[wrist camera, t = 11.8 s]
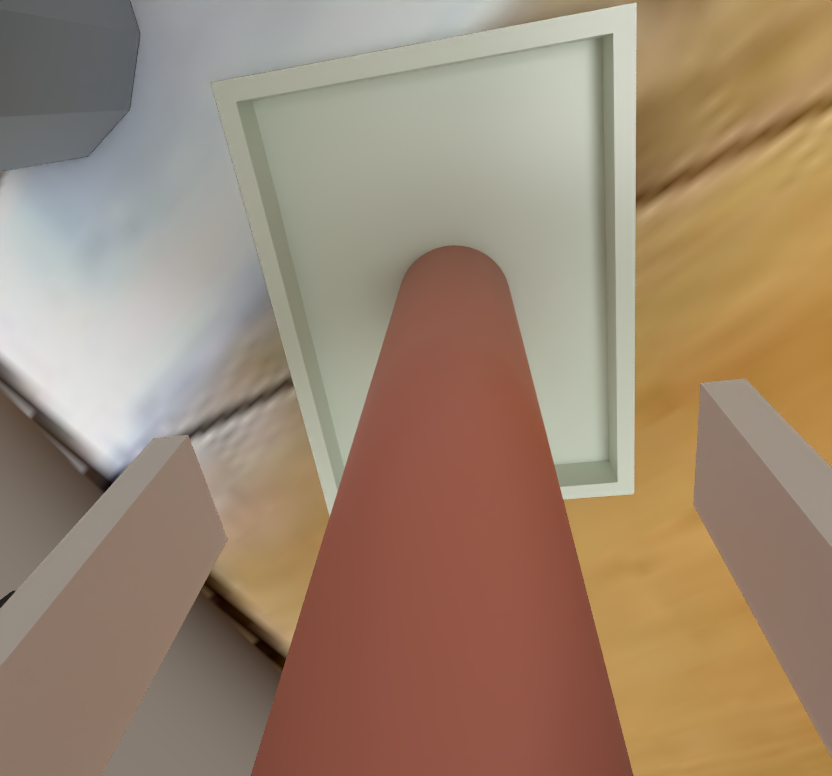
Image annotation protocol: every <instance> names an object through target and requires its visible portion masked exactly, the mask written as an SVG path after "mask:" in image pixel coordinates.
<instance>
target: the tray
mask: <svg viewBox="0 0 832 776" xmlns="http://www.w3.org/2000/svg"><path fill="white" fill-rule="evenodd" d="M636 5H637V2H636V3H631V4H626V5H621V6H615V7H610V8H605V9H599V10H594V11H589V12H583V13H578V14H573V15H567V16H562V17H557V18H551V19H546V20H541V21H535V22H530V23H525V24H520V25H514V26H509V27H504V28H498V29H493V30H488V31H482V32H477V33H472V34H466V35H461V36H456V37H450V38H445V39H440V40H434V41H429V42H424V43H419V44H413V45H408V46H403V47H397V48H392V49H387V50H381V51H376V52H371V53H365V54H360V55H355V56H349V57H344V58H339V59H333V60H328V61H323V62H318V63H312V64H307V65H302V66H296V67H291V68H286V69H280V70H275V71H270V72H264V73H259V74H254V75H248V76H243V77H238V78H232V79H227V80H222V81H217V82H211V86H212V90H213V93H214V97H215V101H216V104H217V108H218V111H219V115H220V119H221V122H222V126H223V130H224V133H225V137H226V141H227V144H228V148H229V152H230V155H231V159H232V162H233V166H234V170H235V173H236V177H237V181H238V184H239V188H240V192H241V195H242V199H243V202H244V206H245V210H246V213H247V217H248V221H249V224H250V228H251V232H252V235H253V239H254V242H255V246H256V250H257V253H258V257H259V261H260V264H261V268H262V272H263V275H264V279H265V282H266V286H267V290H268V293H269V297H270V301H271V304H272V308H273V312H274V315H275V319H276V323H277V326H278V330H279V333H280V337H281V341H282V344H283V348H284V352H285V355H286V359H287V363H288V366H289V370H290V373H291V377H292V381H293V384H294V388H295V392H296V395H297V399H298V403H299V406H300V410H301V413H302V417H303V421H304V424H305V428H306V432H307V435H308V439H309V443H310V446H311V450H312V453H313V457H314V461H315V464H316V468H317V472H318V475H319V479H320V483H321V486H322V490H323V493H324V497H325V501H326V504H327V508H328V512H329V515H331V511H332V508H333V505H334V501H335V498H336V495H337V492H338V488H339V485H340V482H341V479H342V475H343V472H344V469H345V465H346V462H347V459H348V456H349V452H350V449H351V446H352V443H353V439H354V436H355V433H356V429H357V426H358V423H359V420H360V416H361V413H362V410H363V407H364V403H365V400H366V397H367V393H368V390H369V387H370V384H371V380H372V377H373V374H374V371H375V367H376V364H377V361H378V358H379V354H380V351H381V348H382V344H383V341H384V338H385V335H386V331H387V328H388V325H389V322H390V318H391V315H392V312H393V308H394V305H395V302H396V299H397V295H398V292H399V289H400V286H401V282H402V280H403V278H404V275H405V274H406V272H407V270H408V269H409V267H410V266H411V265H412V264H413V263H414V262H415V261H416V260H417V259H418V258H419V257H421V256H422V255H424V254H425V253H427V252H429V251H431V250H434V249H436V248H439V247H444V246H453V245H456V246H465V247H470V248H473V249H476V250H478V251H480V252H482V253H484V254H486V255H487V256H489V257H490V258H491V259H492V260H493V261H495V262H496V264H497V265H498V266H499V267H500V268H501V270H502V271H503V273H504V275H505V277H506V279H507V282H508V285H509V289H510V293H511V297H512V301H513V305H514V308H515V312H516V316H517V320H518V324H519V328H520V332H521V336H522V340H523V344H524V348H525V352H526V356H527V360H528V364H529V367H530V371H531V375H532V379H533V383H534V387H535V391H536V395H537V399H538V403H539V407H540V411H541V415H542V419H543V423H544V426H545V430H546V434H547V438H548V442H549V446H550V450H551V454H552V458H553V462H554V466H555V470H556V474H557V478H558V482H559V485H560V489H561V493H562V497H563V499H575V498H588V497H601V496H614V495H626V494H634V405H635V205H636Z"/></svg>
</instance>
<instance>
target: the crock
mask: <svg viewBox="0 0 832 776" xmlns="http://www.w3.org/2000/svg"><path fill="white" fill-rule="evenodd" d="M139 37H140V32H139V29H138V26H137V23H136V19H135V16H134V13H133V10H132V6H131V3H130V0H0V172H1V171H7V170H13V169H19V168H24V167H30V166H35V165H41V164H47V163H53V162H58V161H64V160H70V159H76V158H81V157H87V156H89V155H90V154H91V153H92V151H93V150H94V149H95V148H96V147H97V146H98V145H99V144H100V142H101V141H102V140H103V139H104V138H105V137H106V136H107V135H108V133H109V132H110V131H111V130H112V129H113V128H114V127H115V125H116V124H117V123H118V122H119V121H120V120H121V119H122V118H123V116H124V115H125V114H126V113H127V112H128V111H129V109H130V102H131V95H132V88H133V81H134V73H135V66H136V59H137V52H138V45H139Z"/></svg>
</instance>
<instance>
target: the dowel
mask: <svg viewBox="0 0 832 776" xmlns="http://www.w3.org/2000/svg"><path fill="white" fill-rule="evenodd" d="M251 776H633V773H632V769H631V765H630V761H629V757H628V753H627V749H626V745H625V741H624V737H623V733H622V729H621V725H620V722H619V718H618V714H617V710H616V706H615V702H614V698H613V694H612V690H611V686H610V682H609V678H608V674H607V670H606V666H605V662H604V659H603V655H602V651H601V647H600V643H599V639H598V635H597V631H596V627H595V623H594V619H593V615H592V611H591V607H590V603H589V600H588V596H587V592H586V588H585V584H584V580H583V576H582V572H581V568H580V564H579V560H578V556H577V552H576V548H575V544H574V541H573V537H572V533H571V529H570V525H569V521H568V517H567V513H566V509H565V505H564V501H563V497H562V493H561V489H560V485H559V482H558V478H557V474H556V470H555V466H554V462H553V458H552V454H551V450H550V446H549V442H548V438H547V434H546V430H545V426H544V423H543V419H542V415H541V411H540V407H539V403H538V399H537V395H536V391H535V387H534V383H533V379H532V375H531V371H530V367H529V364H528V360H527V356H526V352H525V348H524V344H523V340H522V336H521V332H520V328H519V324H518V320H517V316H516V312H515V308H514V305H513V301H512V297H511V293H510V289H509V285H508V282H507V279H506V277H505V275H504V273H503V271H502V270H501V268H500V267H499V266H498V265H497V264H496V262H495V261H493V260H492V259H491V258H490V257H489V256H487V255H486V254H484V253H482V252H480V251H478V250H476V249H473V248H470V247H465V246H456V245H453V246H444V247H439V248H436V249H434V250H431V251H429V252H427V253H425V254H424V255H422V256H421V257H419V258H418V259H417V260H416V261H415V262H414V263H413V264H412V265H411V266H410V267H409V269H408V270H407V272H406V274H405V275H404V278H403V280H402V282H401V286H400V289H399V292H398V295H397V299H396V302H395V305H394V308H393V312H392V315H391V318H390V322H389V325H388V328H387V331H386V335H385V338H384V341H383V344H382V348H381V351H380V354H379V358H378V361H377V364H376V367H375V371H374V374H373V377H372V380H371V384H370V387H369V390H368V393H367V397H366V400H365V403H364V407H363V410H362V413H361V416H360V420H359V423H358V426H357V429H356V433H355V436H354V439H353V443H352V446H351V449H350V452H349V456H348V459H347V462H346V465H345V469H344V472H343V475H342V479H341V482H340V485H339V488H338V492H337V495H336V498H335V501H334V505H333V508H332V511H331V515H330V518H329V521H328V524H327V528H326V531H325V534H324V537H323V541H322V544H321V547H320V551H319V554H318V557H317V560H316V564H315V567H314V570H313V573H312V577H311V580H310V583H309V587H308V590H307V593H306V596H305V600H304V603H303V606H302V609H301V613H300V616H299V619H298V623H297V626H296V629H295V632H294V636H293V639H292V642H291V645H290V649H289V652H288V655H287V659H286V662H285V665H284V668H283V672H282V675H281V678H280V682H279V685H278V688H277V691H276V695H275V698H274V701H273V704H272V708H271V711H270V714H269V717H268V721H267V724H266V727H265V731H264V734H263V737H262V740H261V744H260V747H259V751H258V753H257V757H256V760H255V763H254V767H253V770H252V773H251Z"/></svg>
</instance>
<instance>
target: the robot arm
mask: <svg viewBox="0 0 832 776" xmlns="http://www.w3.org/2000/svg"><path fill="white" fill-rule="evenodd" d="M693 505H694V507H695V509H696V511H697V512H698V514H699V516H700V518H701V520H702V522H703V523H704V525H705V527H706V529H707V531H708V532H709V534H710V536H711V538H712V540H713V542H714V543H715V545H716V547H717V549H718V551H719V553H720V554H721V556H722V558H723V560H724V562H725V564H726V565H727V567H728V569H729V571H730V573H731V575H732V576H733V578H734V580H735V582H736V584H737V586H738V587H739V589H740V591H741V593H742V595H743V597H744V598H745V600H746V602H747V604H748V606H749V607H750V609H751V611H752V613H753V615H754V617H755V618H756V620H757V622H758V624H759V626H760V628H761V629H762V631H763V633H764V635H765V637H766V639H767V640H768V642H769V644H770V646H771V648H772V650H773V651H774V653H775V655H776V657H777V659H778V661H779V662H780V664H781V666H782V668H783V670H784V672H785V673H786V675H787V677H788V679H789V681H790V682H791V684H792V686H793V688H794V690H795V692H796V693H797V695H798V697H799V699H800V701H801V703H802V704H803V706H804V708H805V710H806V712H807V714H808V715H809V717H810V719H811V721H812V723H813V725H814V726H815V728H816V730H817V732H818V734H819V736H820V737H821V739H822V741H823V743H824V745H825V746H826V748H827V750H828V752H829V754H830V756H831V757H832V468H831V467H830V466H829V465H828V464H827V463H826V462H825V461H824V460H823V459H822V458H821V456H820V455H819V454H818V453H817V452H816V451H815V450H814V449H813V448H812V447H811V446H810V445H809V444H808V443H807V442H806V441H805V440H804V439H803V438H802V437H801V436H800V435H799V434H798V433H797V432H796V431H795V430H794V429H793V428H792V426H791V425H790V424H789V423H788V422H787V421H786V420H785V419H784V418H783V417H782V416H781V415H780V414H779V413H778V412H777V411H776V410H775V409H774V408H773V407H772V406H771V405H770V404H769V403H768V402H767V401H766V400H765V399H764V398H763V396H762V395H761V394H760V393H759V392H758V391H757V390H756V389H755V388H754V387H753V386H752V385H751V384H750V383H749V382H748V381H747V380H746V379H737V380H727V381H717V382H707V383H701V384H700V401H699V418H698V435H697V452H696V469H695V485H694V502H693ZM226 541H227V537H226V534H225V531H224V529H223V526H222V523H221V521H220V518H219V515H218V513H217V510H216V508H215V505H214V502H213V500H212V497H211V494H210V492H209V489H208V486H207V484H206V481H205V478H204V476H203V473H202V470H201V468H200V465H199V462H198V460H197V457H196V454H195V452H194V449H193V447H192V444H191V441H190V439H189V436H188V435H183V436H173V437H163V438H154V439H153V440H152V441H151V442H150V443H149V444H148V445H147V446H146V447H145V449H144V450H143V451H142V452H141V453H140V454H139V455H138V456H137V457H136V459H135V460H134V461H133V462H132V463H131V464H130V465H129V466H128V467H127V469H126V470H125V471H124V472H123V473H122V474H121V475H120V476H119V477H118V479H117V480H116V481H115V482H114V483H113V484H112V485H111V486H110V487H109V489H108V490H107V491H106V492H105V493H104V494H103V495H102V496H101V497H100V498H99V500H98V501H97V502H96V503H95V504H94V505H93V506H92V507H91V508H90V510H89V511H88V512H87V513H86V514H85V515H84V516H83V517H82V518H81V520H80V521H79V522H78V523H77V524H76V525H75V526H74V528H72V530H71V531H70V532H69V533H68V534H67V535H66V536H65V537H64V538H63V540H62V541H61V542H60V543H59V544H58V545H57V546H56V547H55V548H54V549H53V551H52V552H51V553H50V554H49V555H48V556H47V557H46V558H45V560H44V561H43V562H42V563H41V564H40V565H39V566H38V567H37V568H36V569H35V571H34V572H33V573H32V574H31V575H30V576H29V578H27V579H26V581H25V582H24V583H23V584H22V585H21V586H20V587H19V588H18V589H17V590H16V591H12V592H10V593H9V594H8V595H6V596H5V597H4V598H2V599H1V600H0V776H101V775H102V773H103V771H104V770H105V768H106V766H107V764H108V762H109V760H110V758H111V757H112V754H113V753H114V751H115V749H116V747H117V745H118V743H119V741H120V740H121V738H122V736H123V734H124V732H125V730H126V728H127V726H128V725H129V723H130V721H131V719H132V717H133V715H134V713H135V712H136V710H137V708H138V706H139V704H140V702H141V700H142V698H143V697H144V695H145V693H146V691H147V689H148V687H149V685H150V683H151V682H152V680H153V678H154V676H155V674H156V672H157V670H158V669H159V667H160V665H161V663H162V661H163V659H164V657H165V655H166V653H167V652H168V650H169V648H170V646H171V644H172V642H173V640H174V639H175V637H176V635H177V633H178V631H179V629H180V627H181V625H182V624H183V622H184V620H185V618H186V616H187V614H188V612H189V610H190V609H191V607H192V605H193V603H194V601H195V599H196V597H197V595H198V594H199V592H200V590H201V588H202V586H203V584H204V582H205V581H206V579H207V577H208V575H209V573H210V571H211V569H212V567H213V566H214V564H215V562H216V560H217V558H218V556H219V554H220V553H221V551H222V549H223V547H224V545H225V543H226Z"/></svg>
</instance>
